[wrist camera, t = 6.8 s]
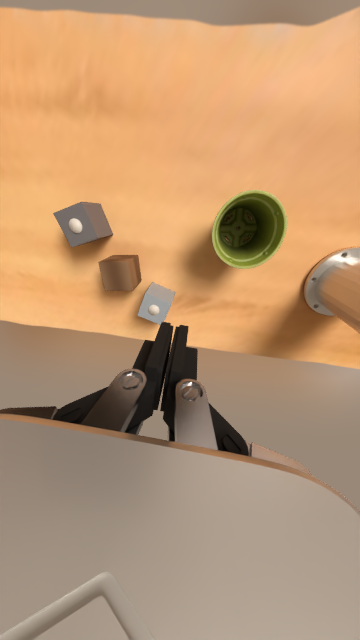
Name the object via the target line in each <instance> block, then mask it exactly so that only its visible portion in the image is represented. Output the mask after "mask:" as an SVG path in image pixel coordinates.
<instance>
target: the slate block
mask: <svg viewBox="0 0 360 640" xmlns="http://www.w3.org/2000/svg"><path fill="white" fill-rule="evenodd" d="M174 295H175V292H174V291H172V290H170V289H167V288H165V287H163V286H160V285H158V284H156V283H152V284H151V285H150V287H149V288H148V290H147V291H146V292H145V295H144V298H143V301H142V304H141V307H140V309H139V312H138V315H137V316H140V317H142V318H145V319H147V320H150V321H152V322H154V323H157V324H159V325H161V322H164V320H165V318H166V316H167V313H168V311H169V309H170V307H171V304H172V301H173V298H174Z"/></svg>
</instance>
